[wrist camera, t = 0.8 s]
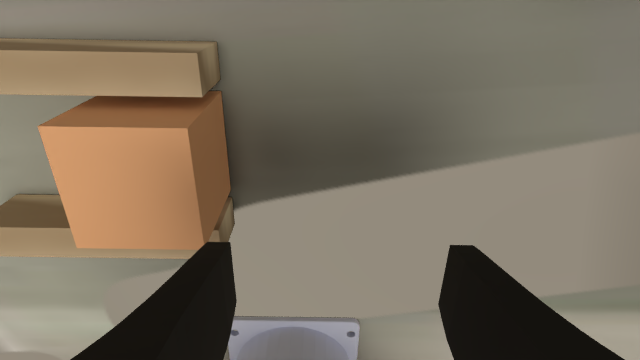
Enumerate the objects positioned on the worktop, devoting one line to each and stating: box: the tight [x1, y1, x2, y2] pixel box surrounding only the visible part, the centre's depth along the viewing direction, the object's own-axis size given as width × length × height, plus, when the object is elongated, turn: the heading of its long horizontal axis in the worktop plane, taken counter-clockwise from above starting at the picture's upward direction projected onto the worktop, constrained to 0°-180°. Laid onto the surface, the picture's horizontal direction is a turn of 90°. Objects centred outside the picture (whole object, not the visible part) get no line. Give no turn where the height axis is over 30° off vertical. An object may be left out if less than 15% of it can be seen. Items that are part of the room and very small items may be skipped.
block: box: [38, 91, 231, 250], centre depth 17 cm, size 5×5×5 cm
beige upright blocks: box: [0, 38, 235, 259], centre depth 18 cm, size 9×11×3 cm
